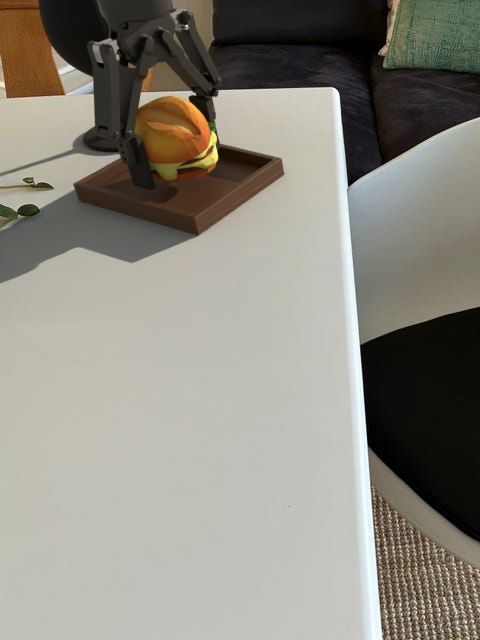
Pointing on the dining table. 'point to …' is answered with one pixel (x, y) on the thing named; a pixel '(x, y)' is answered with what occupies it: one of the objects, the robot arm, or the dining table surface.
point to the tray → (184, 190)
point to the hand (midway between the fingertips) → (179, 166)
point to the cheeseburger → (176, 139)
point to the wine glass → (77, 43)
